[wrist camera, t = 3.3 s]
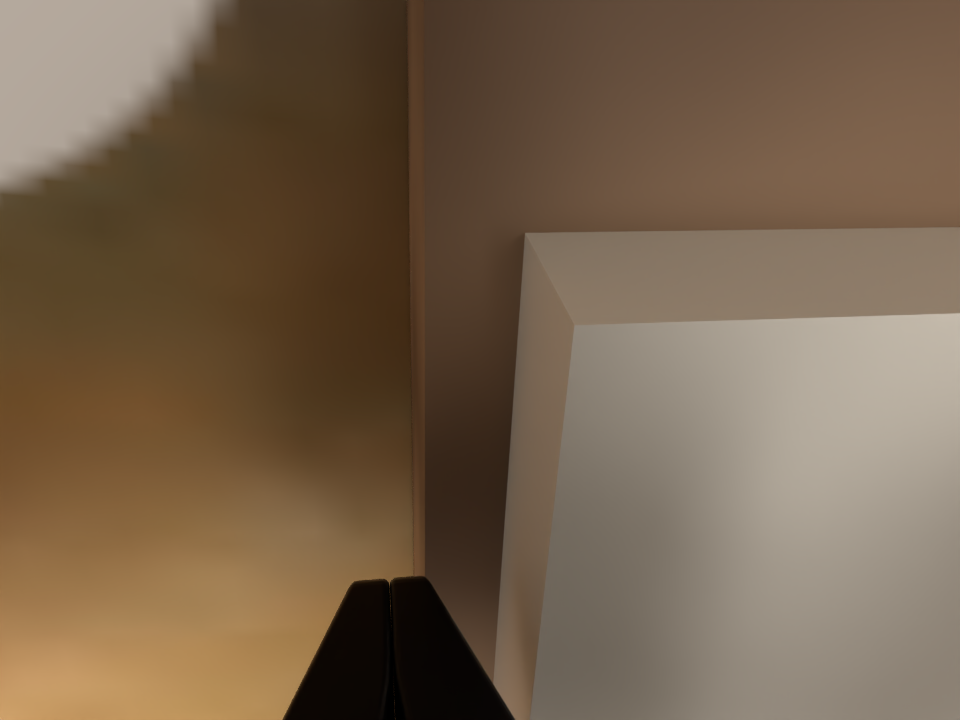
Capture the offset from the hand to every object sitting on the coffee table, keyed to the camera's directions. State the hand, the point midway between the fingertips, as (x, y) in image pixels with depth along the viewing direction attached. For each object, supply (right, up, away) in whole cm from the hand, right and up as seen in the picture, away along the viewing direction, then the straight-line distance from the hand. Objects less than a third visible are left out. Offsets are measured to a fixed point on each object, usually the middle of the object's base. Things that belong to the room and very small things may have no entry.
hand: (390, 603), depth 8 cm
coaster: (+5, +1, +1) cm, 6 cm away
